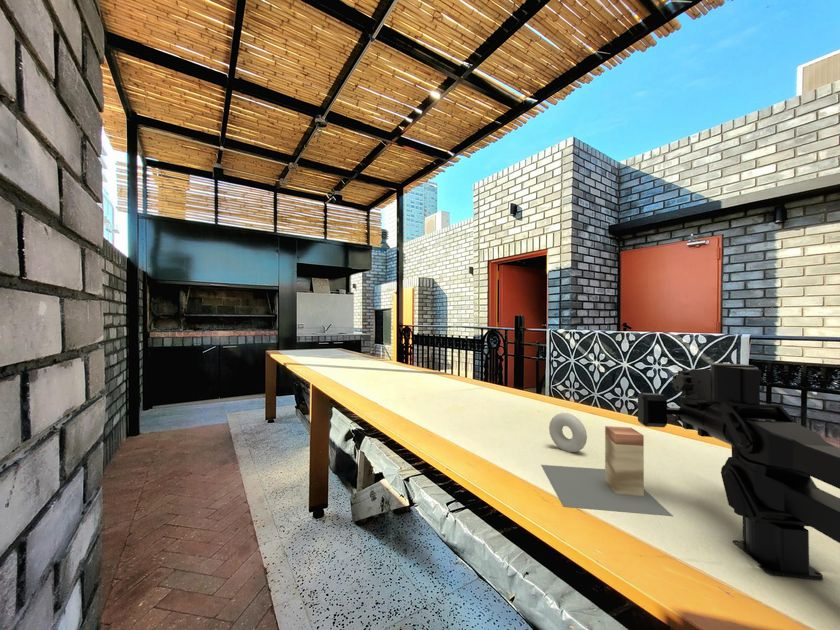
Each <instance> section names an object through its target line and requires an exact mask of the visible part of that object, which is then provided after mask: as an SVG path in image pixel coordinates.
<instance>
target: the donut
mask: <svg viewBox="0 0 840 630" xmlns="http://www.w3.org/2000/svg"><path fill="white" fill-rule="evenodd" d="M564 427H567V428H568V429H569V430H570V432H571V434H572V437H571V438H568V437H567V436H565V434H564V432H563V428H564ZM548 429H549V435H550V438H551V440H552V443H554V444H555V446H557V448H559V449H560V450H563V451H565V452H568V453H578V452H580V451H581V450H584V447H585V446H586V444H587V441H588V435H587V430H586V427H585V425H584V424H583V422H582V421H581V420H580V419H579V418H578V417H577V416H575V415H574V414H571V413H568V412H560V413H557V414H555V415H553V417H552V418H551V420H550V422H549V427H548Z"/></svg>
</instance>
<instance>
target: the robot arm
mask: <svg viewBox="0 0 840 630" xmlns="http://www.w3.org/2000/svg"><path fill="white" fill-rule="evenodd" d="M672 382H673V386H674V389H675V391H676V392H677V391H679V392H681V395H679V402H680V404H681V405H680V407H668V400H667V398H666V396H665V394H662V393H661V394H660V393H659V392H658V393H656V392H654V393H653V392H652V393H651V392H640V393H639V394H637V422H638V423H640V424H641V425H642V426H644V427H646V428H647V427H648V428H651V427H652V428H665V427H666V426H667V425H668V421H675V422H677V421H678V422H682V428H683V429H685V430H693V431H697V435H698V436H699V437H703V438H705V437H707V438H714V439H716V440H718V441H720V442H723V443H726V444H727V445H730V446H731V447H730V448H731V456H728V457H727V459H726V461H725V463H724V464H723V465H722V467H721V470H720V474H721V479H722V484H723V488H724V492H725V495H726V499H727V504H728V506H729V507H731V508H732V509H733V512H734V514H736V515H738V516H740V517H742V539H743V540H738V539H737V540H736V539H733V540H732V543H733V544H734V545H735V546H736V547H737V548H739V550H741V551H742V552H744V553H745V554H746V555H747V556H748V557H749V558H751V559H752V560H753V561H755V562H756V563H757V564H758V566H759V568H761V569H762V570H763V571H765V572H766V573H768V574H770V575H775V576H785V577H793V578H801V579H802V578H803V579H805V578H806V579H814V580H815V579H816V580H824V575H823V574H822V573H820V572H819V571H818V570H816V569H815V568H813V567H812V566H811V565H810V541H809V540H810V532H809V529H807V528H805V527H811V528H813V529H815V530H816V531H818V532H819V533H821V534H822V535H825V536H826V537H828V538H830V539H831V540H833V541H835V542H837V543H838V544H840V497H838V496H835V495H834V494H831V493H829V492H827V491H825V490H823V489H821V488H819V487H818V486H817V485H816V484H815V482H814V480H813V478H814V479H816V480H818V481H821V482H824V483H825V484H827V485H830V486H832V487H834V488H837V489H839V490H840V447H838V446H835V445H833V444H832V443H830V442H827V441H826V440H825V438H824V437H823V436H822V435H821V434H819V433H817V432H816V431H813V430H812V429H809V428H808V427H805V426H803V425H801V424H799V423H798V422H797V421H796V419H794V417H793V416H792V415H791V414H790V413H789V412H787V410H786V409H785V408H784V407H783V406H782V405H781V404H774V403H773V404H772V403H770V404H769V403H766V402H765V403H764V402H762V401H761V400H760V399H761V392H760V391H761V388H760V387H761V386H760V383H761V369H759V367H757V366H755V365H752V364H740V363H739V364H738V363H727V362H726V363H724V362H714V363H713V362H712V363H711V362H710V368H709V369H706V368H705V369H701V368H700V369H699V368H692V369H689V370H678V371H677V374H675V375H674V374H673V376H672Z"/></svg>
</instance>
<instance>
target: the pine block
mask: <svg viewBox="0 0 840 630" xmlns="http://www.w3.org/2000/svg"><path fill="white" fill-rule="evenodd" d="M604 429H605V430H604V439H605V440H604V448H605V449H604V458H605V459H604V463H605V464H604V469H605V482H606V483H607V484H608V485H609V487H610V488H611V489H612V490H613V491H614V492H615V493H616V494H625V495H638V496H644V489H645V469H644V468H645V467H644V465H645V460H644V459H645V455H644V453H645V452H644V450H645V449H644V448H645V447H644V446H645V445H644V439H645V438H644V437H645V435H644V434H642V433H641V432H639V431H638V430H636V429H634V428H632V427H629V426H610V425H605V426H604Z"/></svg>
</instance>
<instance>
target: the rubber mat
mask: <svg viewBox="0 0 840 630" xmlns="http://www.w3.org/2000/svg"><path fill="white" fill-rule="evenodd" d="M540 465H541V468H542V470H543V472H544V473H545V476H546V477H547V479H548V481H549V482H550V483H549V484H551V486H552V489H553V490H554V492H555V494H556V496H557V498H558V500H559V502H560V503H561V505H562V507H563V508H572V509H580V510H581V509H582V510H584V509H585V510H593V511H595V510H596V511H606V512H607V511H608V512H619V513H629V514H630V513H632V514H641V515H653V516H664V517H666V516H667V517H674V515H673V514H672V513H671V512H670V511H669V510H668V509H666V508H665V507H664V505H662V504H661V503H660V502H659V501H658V500H656V499H655V497H654V496H652V494H650V493H649V492H648V491H647V490H646V489H645V488H644V496H638V495H625V494H616V493H615V492H614V491H613V490H612V489H611V488H610V487H609V485H608V484H607V483H606V482H605V468H593V467H579V466H563V465H548V464H540Z"/></svg>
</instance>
